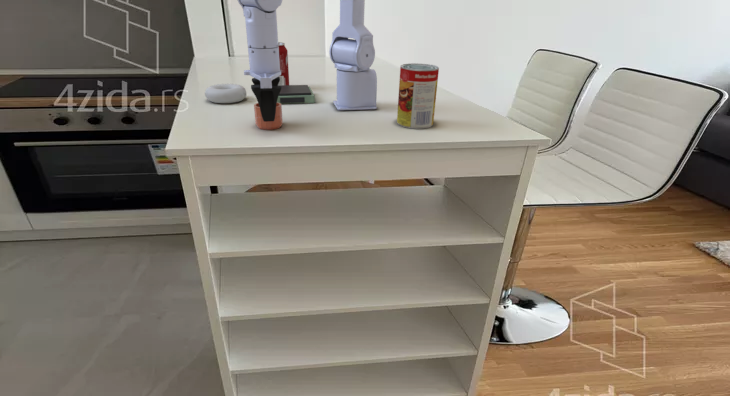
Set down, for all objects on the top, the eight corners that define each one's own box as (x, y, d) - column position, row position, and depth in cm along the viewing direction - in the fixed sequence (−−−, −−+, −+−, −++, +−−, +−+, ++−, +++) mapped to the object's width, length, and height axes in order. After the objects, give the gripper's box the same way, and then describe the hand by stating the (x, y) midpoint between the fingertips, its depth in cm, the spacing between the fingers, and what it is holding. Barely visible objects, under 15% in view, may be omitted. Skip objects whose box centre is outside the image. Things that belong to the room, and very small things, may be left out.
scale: (310, 93, 116) (309, 84, 114) (314, 103, 106) (314, 93, 105) (269, 94, 113) (268, 85, 112) (269, 104, 103) (269, 94, 102)
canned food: (419, 116, 97) (424, 62, 92) (440, 126, 91) (446, 68, 85) (390, 120, 94) (393, 64, 88) (409, 130, 87) (414, 70, 82)
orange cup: (282, 122, 90) (280, 101, 88) (283, 129, 86) (281, 107, 84) (256, 123, 89) (254, 101, 87) (255, 130, 85) (253, 108, 83)
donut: (197, 103, 103) (236, 106, 101) (195, 89, 101) (234, 91, 100) (218, 94, 112) (254, 96, 110) (216, 81, 110) (252, 83, 108)
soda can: (287, 90, 117) (284, 45, 112) (262, 90, 117) (259, 44, 112) (291, 85, 123) (289, 42, 118) (268, 85, 123) (264, 41, 118)
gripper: (242, 42, 86) (249, 108, 92) (239, 52, 73) (247, 128, 79) (278, 42, 87) (282, 107, 94) (281, 52, 75) (285, 126, 81)
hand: (268, 116), depth 87 cm, fingers closed on orange cup, 5 cm apart
